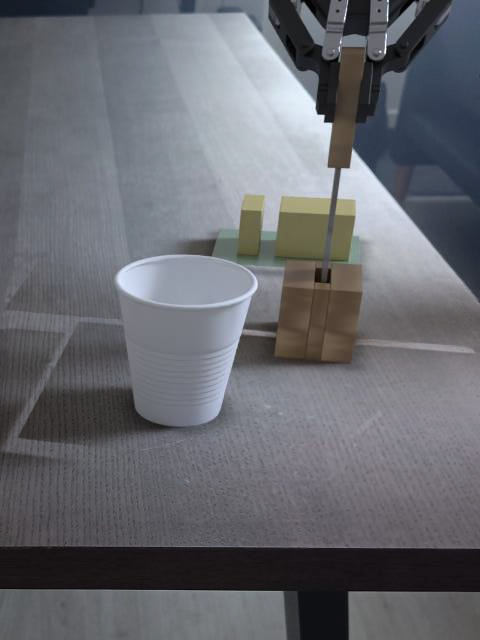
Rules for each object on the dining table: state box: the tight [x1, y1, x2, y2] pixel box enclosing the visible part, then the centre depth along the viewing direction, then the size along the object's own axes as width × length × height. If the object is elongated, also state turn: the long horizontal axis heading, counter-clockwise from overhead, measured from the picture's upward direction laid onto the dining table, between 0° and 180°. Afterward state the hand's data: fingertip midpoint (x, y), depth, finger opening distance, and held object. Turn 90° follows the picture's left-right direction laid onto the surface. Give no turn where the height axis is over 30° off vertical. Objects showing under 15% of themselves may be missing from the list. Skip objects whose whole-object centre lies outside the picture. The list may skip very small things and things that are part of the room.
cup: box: [113, 254, 259, 428], centre depth 75 cm, size 10×10×11 cm
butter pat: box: [237, 194, 266, 255], centre depth 103 cm, size 2×5×4 cm, turn 164°
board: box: [211, 228, 361, 268], centre depth 104 cm, size 14×10×2 cm
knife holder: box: [273, 260, 364, 364], centre depth 84 cm, size 6×6×7 cm
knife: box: [321, 46, 365, 283], centre depth 78 cm, size 2×3×17 cm, turn 164°
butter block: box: [274, 195, 357, 261], centre depth 101 cm, size 7×5×4 cm
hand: (345, 116), depth 74 cm, fingers closed on knife, 1 cm apart
